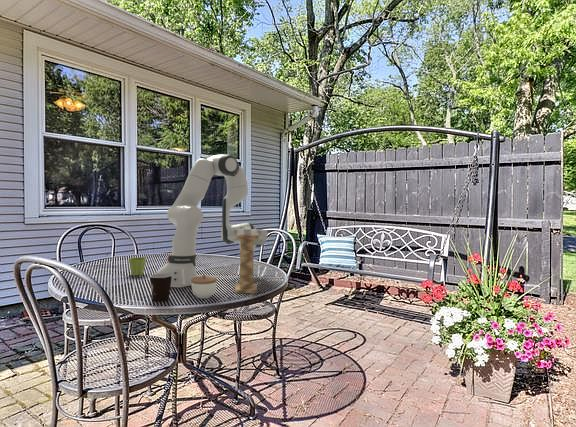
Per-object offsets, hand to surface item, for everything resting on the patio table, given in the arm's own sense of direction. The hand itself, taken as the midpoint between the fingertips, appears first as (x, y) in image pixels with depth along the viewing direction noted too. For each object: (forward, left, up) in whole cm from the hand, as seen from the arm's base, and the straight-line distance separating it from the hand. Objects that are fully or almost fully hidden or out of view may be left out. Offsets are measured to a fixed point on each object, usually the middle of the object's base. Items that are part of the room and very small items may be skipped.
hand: (247, 228), depth 180 cm
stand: (0, -11, -28) cm, 30 cm away
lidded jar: (-18, -23, -28) cm, 41 cm away
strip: (0, -6, -2) cm, 6 cm away
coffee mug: (-35, -26, -28) cm, 52 cm away
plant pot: (-59, +22, -28) cm, 69 cm away
